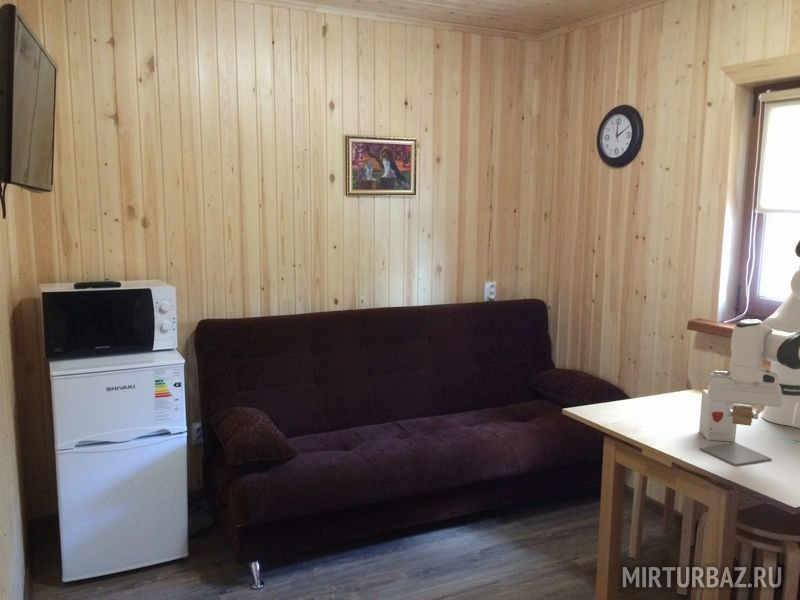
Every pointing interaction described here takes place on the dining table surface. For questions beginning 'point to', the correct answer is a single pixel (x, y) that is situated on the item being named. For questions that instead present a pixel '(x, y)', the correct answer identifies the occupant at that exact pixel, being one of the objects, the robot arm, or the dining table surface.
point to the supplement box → (716, 420)
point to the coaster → (735, 454)
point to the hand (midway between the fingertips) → (742, 417)
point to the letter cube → (742, 414)
